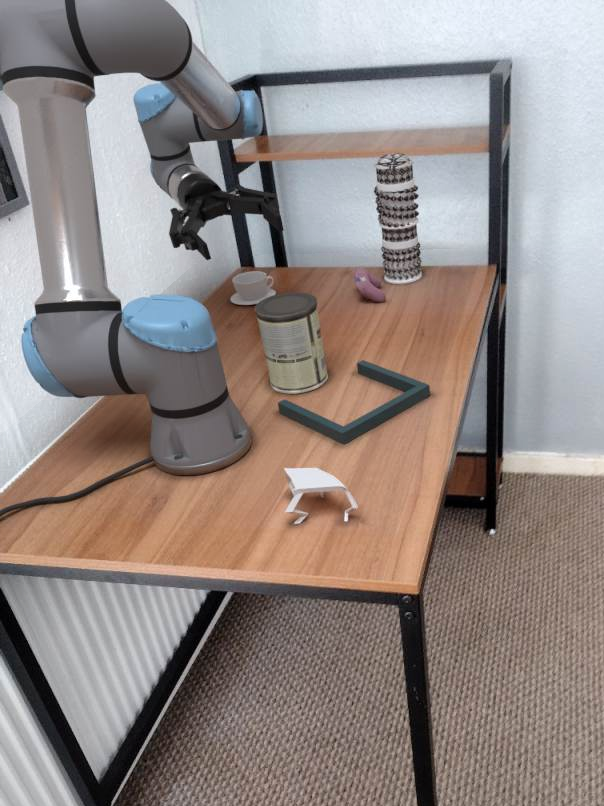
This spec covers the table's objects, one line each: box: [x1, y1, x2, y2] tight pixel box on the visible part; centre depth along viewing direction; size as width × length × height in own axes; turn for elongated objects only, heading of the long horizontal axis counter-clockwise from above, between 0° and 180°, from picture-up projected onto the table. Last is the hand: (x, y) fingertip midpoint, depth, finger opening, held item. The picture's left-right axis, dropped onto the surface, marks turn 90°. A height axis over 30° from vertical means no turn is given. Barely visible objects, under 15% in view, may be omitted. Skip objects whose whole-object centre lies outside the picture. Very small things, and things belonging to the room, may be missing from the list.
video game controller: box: [352, 266, 387, 303], centre depth 165 cm, size 10×5×7 cm, turn 6°
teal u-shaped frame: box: [277, 359, 431, 445], centre depth 128 cm, size 16×19×2 cm
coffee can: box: [254, 291, 329, 395], centre depth 134 cm, size 10×10×14 cm
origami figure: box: [283, 467, 359, 525], centre depth 104 cm, size 12×8×5 cm
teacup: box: [230, 270, 277, 306], centre depth 171 cm, size 10×10×5 cm
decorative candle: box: [373, 152, 423, 285], centre depth 167 cm, size 9×9×25 cm
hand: (244, 237), depth 131 cm, fingers open, 13 cm apart
